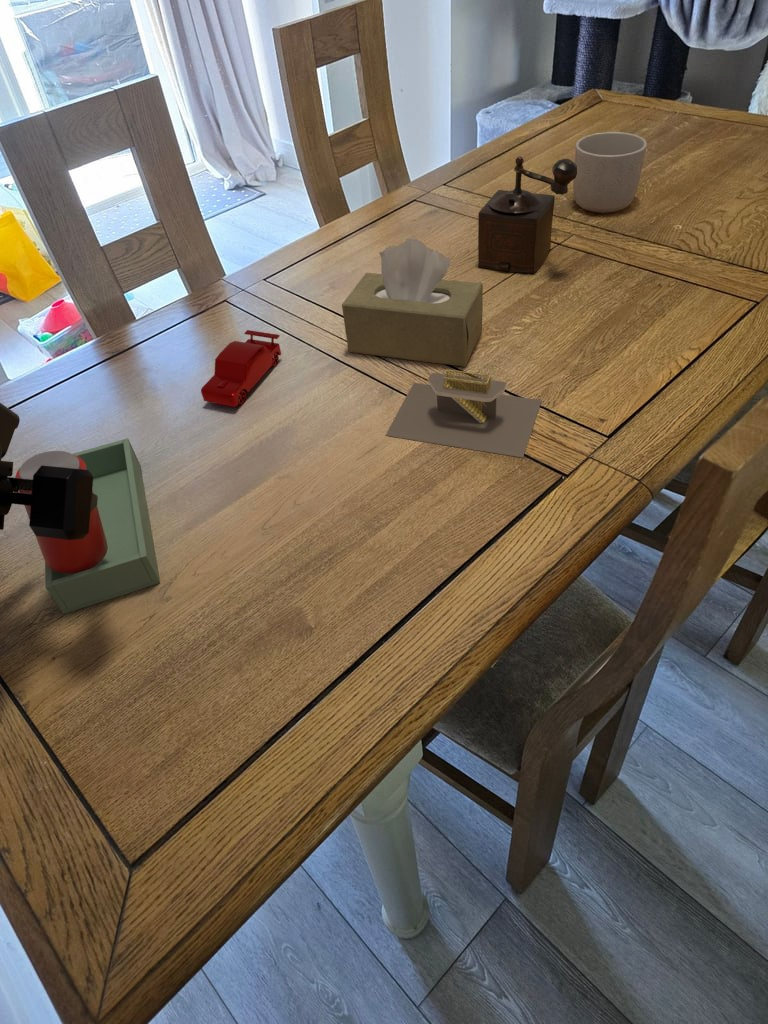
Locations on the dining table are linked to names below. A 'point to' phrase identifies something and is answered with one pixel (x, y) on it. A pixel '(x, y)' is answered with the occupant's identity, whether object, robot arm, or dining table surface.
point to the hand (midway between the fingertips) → (56, 496)
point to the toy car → (240, 369)
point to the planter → (608, 170)
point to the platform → (466, 414)
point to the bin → (112, 533)
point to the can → (61, 551)
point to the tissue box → (414, 309)
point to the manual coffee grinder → (521, 222)
